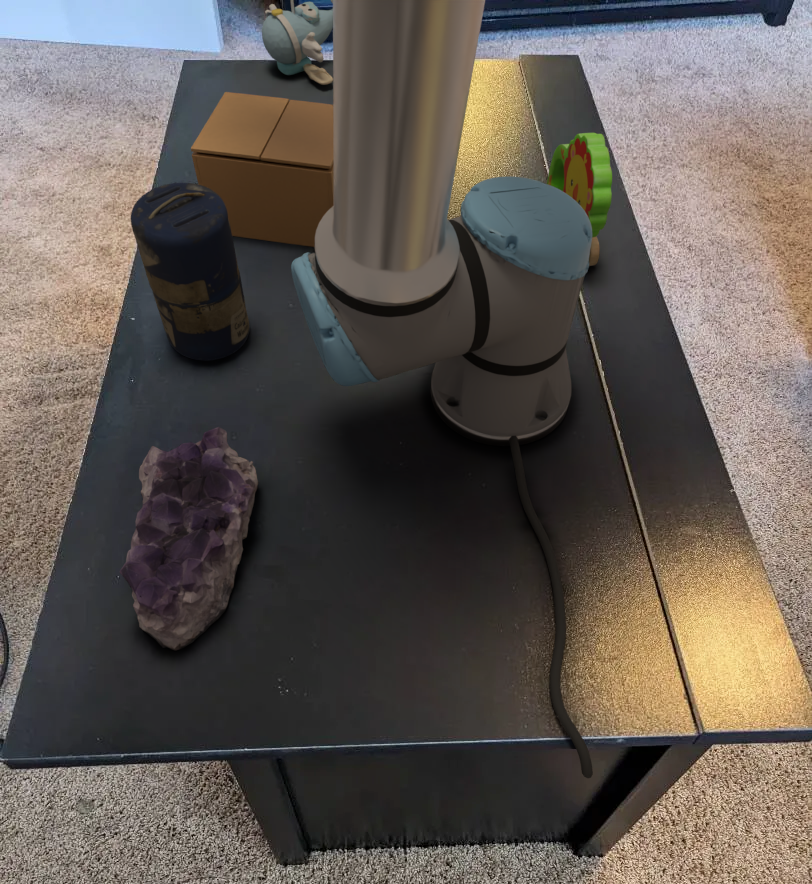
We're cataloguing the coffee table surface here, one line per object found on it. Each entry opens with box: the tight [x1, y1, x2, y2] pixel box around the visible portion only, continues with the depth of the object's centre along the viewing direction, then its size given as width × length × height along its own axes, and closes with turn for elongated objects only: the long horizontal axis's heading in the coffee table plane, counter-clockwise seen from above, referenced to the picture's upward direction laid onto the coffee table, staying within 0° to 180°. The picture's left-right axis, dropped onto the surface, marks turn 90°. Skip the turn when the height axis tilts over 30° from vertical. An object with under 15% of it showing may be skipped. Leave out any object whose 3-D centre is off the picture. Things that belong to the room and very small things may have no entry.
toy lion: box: [546, 132, 613, 267], centre depth 92 cm, size 16×5×15 cm, turn 9°
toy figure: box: [261, 0, 333, 86], centre depth 118 cm, size 17×10×15 cm
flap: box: [190, 91, 290, 159], centre depth 92 cm, size 13×8×1 cm, turn 169°
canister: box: [130, 182, 251, 361], centre depth 81 cm, size 10×10×18 cm
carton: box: [191, 99, 334, 248], centre depth 97 cm, size 13×17×11 cm
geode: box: [119, 426, 259, 652], centre depth 69 cm, size 20×12×10 cm, turn 179°
